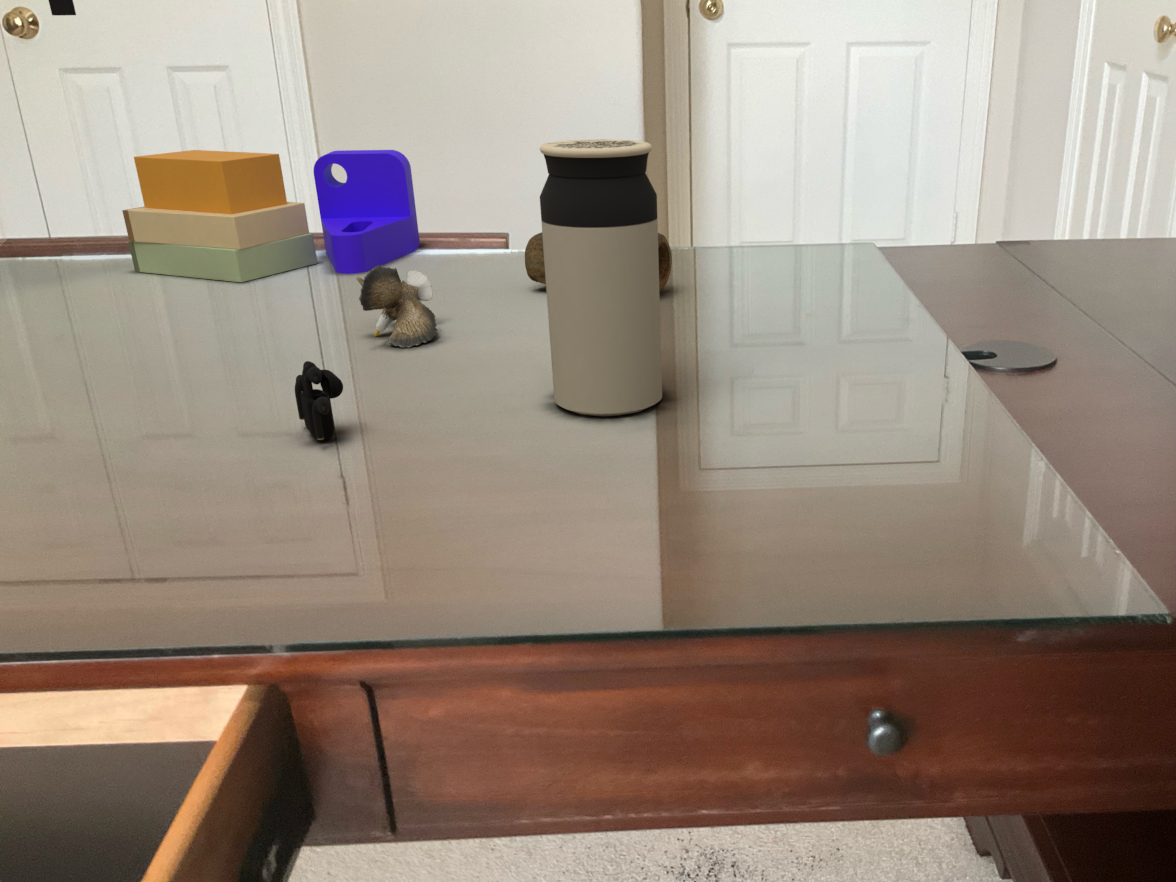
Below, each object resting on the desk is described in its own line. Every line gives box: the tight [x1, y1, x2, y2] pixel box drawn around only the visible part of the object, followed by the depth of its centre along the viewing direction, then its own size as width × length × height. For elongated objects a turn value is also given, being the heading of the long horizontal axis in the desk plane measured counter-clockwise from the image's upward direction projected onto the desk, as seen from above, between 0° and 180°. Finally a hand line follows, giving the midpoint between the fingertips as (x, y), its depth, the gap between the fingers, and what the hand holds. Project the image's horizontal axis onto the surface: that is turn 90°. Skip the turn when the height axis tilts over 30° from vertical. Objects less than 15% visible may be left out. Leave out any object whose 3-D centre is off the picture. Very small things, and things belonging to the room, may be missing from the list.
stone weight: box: [524, 231, 673, 292], centre depth 113 cm, size 15×7×7 cm, turn 76°
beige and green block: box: [122, 201, 318, 283], centre depth 125 cm, size 16×12×7 cm
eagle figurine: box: [355, 265, 438, 349], centre depth 97 cm, size 8×7×9 cm
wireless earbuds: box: [294, 360, 344, 442], centre depth 72 cm, size 7×2×5 cm, turn 32°
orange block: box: [133, 149, 288, 214], centre depth 123 cm, size 13×8×6 cm, turn 67°
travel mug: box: [539, 138, 663, 417], centre depth 76 cm, size 8×8×18 cm
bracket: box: [313, 149, 421, 275], centre depth 129 cm, size 18×11×12 cm, turn 6°
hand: (4, 14), depth 110 cm, fingers open, 13 cm apart
